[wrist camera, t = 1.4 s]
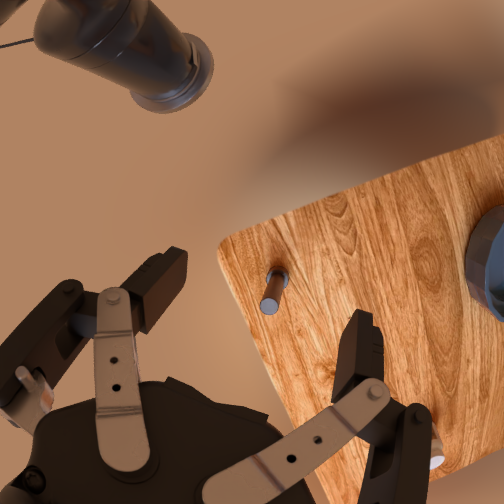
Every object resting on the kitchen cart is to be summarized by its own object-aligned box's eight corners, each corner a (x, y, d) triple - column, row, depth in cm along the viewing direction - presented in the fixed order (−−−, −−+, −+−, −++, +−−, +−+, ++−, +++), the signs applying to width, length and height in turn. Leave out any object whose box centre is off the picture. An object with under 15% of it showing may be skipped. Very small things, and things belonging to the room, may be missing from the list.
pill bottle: (427, 415, 34) (440, 449, 27) (438, 426, 34) (452, 458, 27) (404, 432, 35) (414, 467, 28) (416, 441, 35) (427, 475, 28)
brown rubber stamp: (263, 278, 34) (249, 308, 25) (275, 261, 33) (265, 287, 25) (280, 290, 34) (272, 324, 25) (293, 274, 33) (289, 304, 25)
